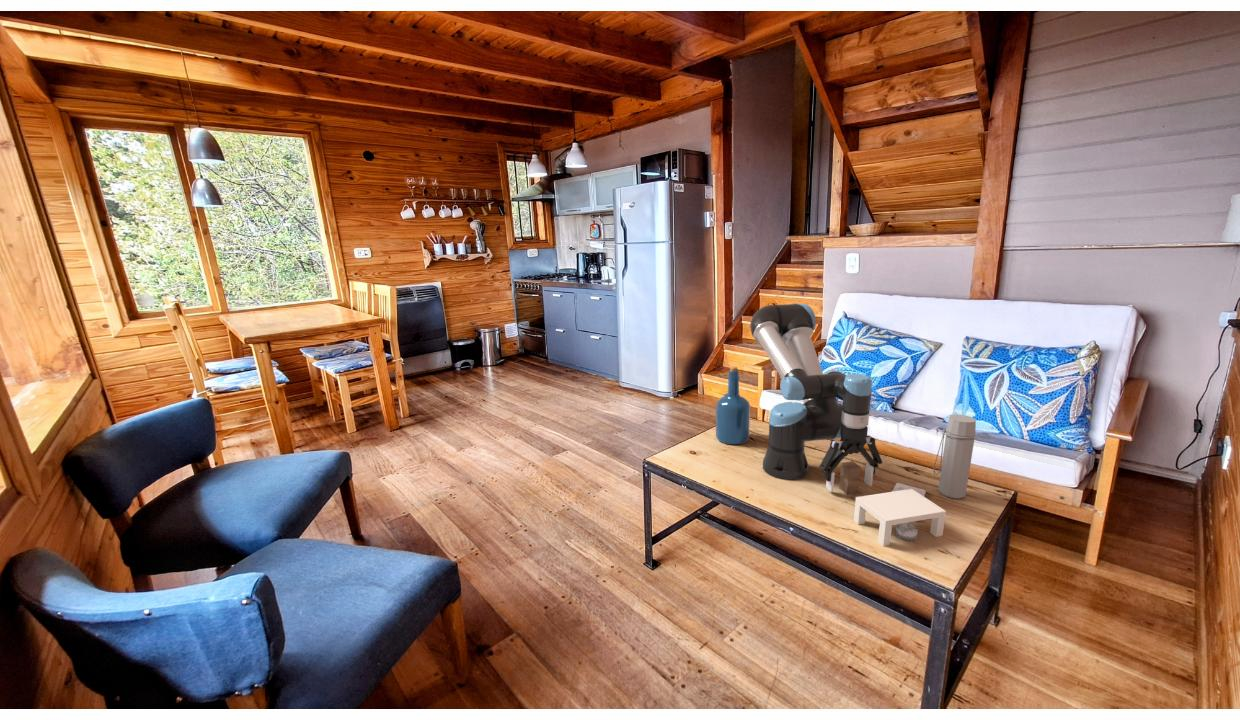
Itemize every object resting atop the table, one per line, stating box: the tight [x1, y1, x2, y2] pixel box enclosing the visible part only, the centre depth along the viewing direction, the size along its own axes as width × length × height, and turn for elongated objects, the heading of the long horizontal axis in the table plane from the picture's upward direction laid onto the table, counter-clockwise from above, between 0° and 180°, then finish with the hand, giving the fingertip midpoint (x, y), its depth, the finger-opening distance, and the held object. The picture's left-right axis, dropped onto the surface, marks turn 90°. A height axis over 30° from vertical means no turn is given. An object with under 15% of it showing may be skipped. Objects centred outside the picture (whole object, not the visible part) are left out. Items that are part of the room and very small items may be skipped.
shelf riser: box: [853, 489, 947, 547], centre depth 134 cm, size 12×18×8 cm, turn 101°
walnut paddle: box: [838, 460, 866, 501], centre depth 146 cm, size 20×4×9 cm, turn 11°
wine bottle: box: [715, 366, 751, 445], centre depth 193 cm, size 14×13×30 cm
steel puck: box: [895, 522, 919, 542], centre depth 131 cm, size 5×5×2 cm
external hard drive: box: [891, 482, 927, 497], centre depth 150 cm, size 2×8×12 cm
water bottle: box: [933, 413, 977, 499], centre depth 148 cm, size 9×8×25 cm
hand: (848, 486), depth 155 cm, fingers open, 13 cm apart
